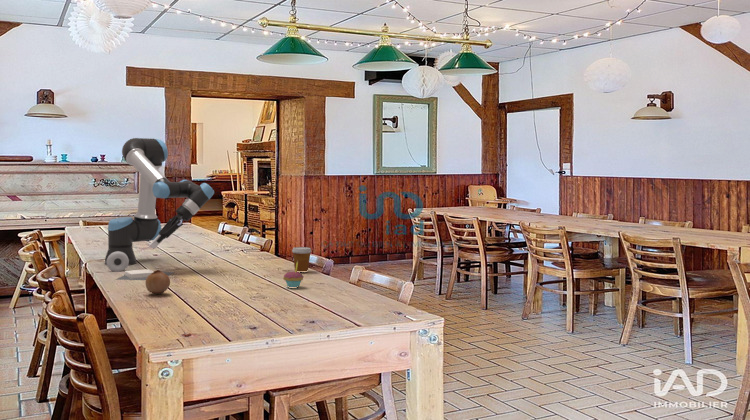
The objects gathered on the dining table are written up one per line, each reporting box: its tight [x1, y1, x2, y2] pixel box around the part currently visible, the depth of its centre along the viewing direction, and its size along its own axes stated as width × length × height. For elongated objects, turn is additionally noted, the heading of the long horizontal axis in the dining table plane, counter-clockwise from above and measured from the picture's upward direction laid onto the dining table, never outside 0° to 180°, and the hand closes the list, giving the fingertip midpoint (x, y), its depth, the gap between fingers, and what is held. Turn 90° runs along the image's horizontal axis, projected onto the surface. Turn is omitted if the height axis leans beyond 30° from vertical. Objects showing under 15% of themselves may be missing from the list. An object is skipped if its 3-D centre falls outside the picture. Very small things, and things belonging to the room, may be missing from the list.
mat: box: [115, 271, 175, 281], centre depth 316 cm, size 22×20×1 cm
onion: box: [145, 269, 171, 295], centre depth 276 cm, size 10×9×10 cm
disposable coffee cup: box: [291, 246, 312, 271], centre depth 340 cm, size 10×10×12 cm
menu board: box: [123, 268, 155, 279], centre depth 315 cm, size 2×10×11 cm
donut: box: [106, 251, 129, 272], centre depth 327 cm, size 10×4×10 cm, turn 114°
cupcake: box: [282, 261, 304, 287], centre depth 298 cm, size 9×8×12 cm
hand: (151, 247), depth 317 cm, fingers closed
